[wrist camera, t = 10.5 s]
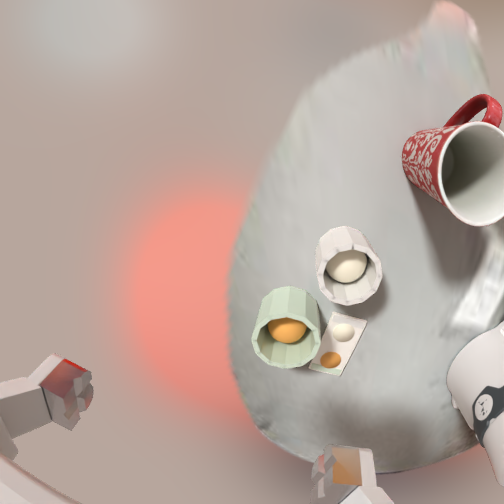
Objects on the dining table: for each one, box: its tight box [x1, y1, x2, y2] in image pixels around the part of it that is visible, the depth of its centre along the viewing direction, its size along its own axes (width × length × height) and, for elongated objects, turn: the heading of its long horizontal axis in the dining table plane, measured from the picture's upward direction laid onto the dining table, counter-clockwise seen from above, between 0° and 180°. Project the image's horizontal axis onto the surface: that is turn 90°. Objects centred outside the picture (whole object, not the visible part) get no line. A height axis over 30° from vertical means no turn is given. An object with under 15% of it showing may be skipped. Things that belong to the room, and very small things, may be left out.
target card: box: [309, 312, 367, 376], centre depth 43 cm, size 5×10×1 cm, turn 166°
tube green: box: [251, 286, 321, 369], centre depth 40 cm, size 8×8×7 cm
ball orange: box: [268, 317, 307, 343], centre depth 40 cm, size 5×5×5 cm
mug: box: [402, 94, 504, 227], centre depth 27 cm, size 13×9×14 cm
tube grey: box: [315, 226, 383, 306], centre depth 36 cm, size 7×7×7 cm
